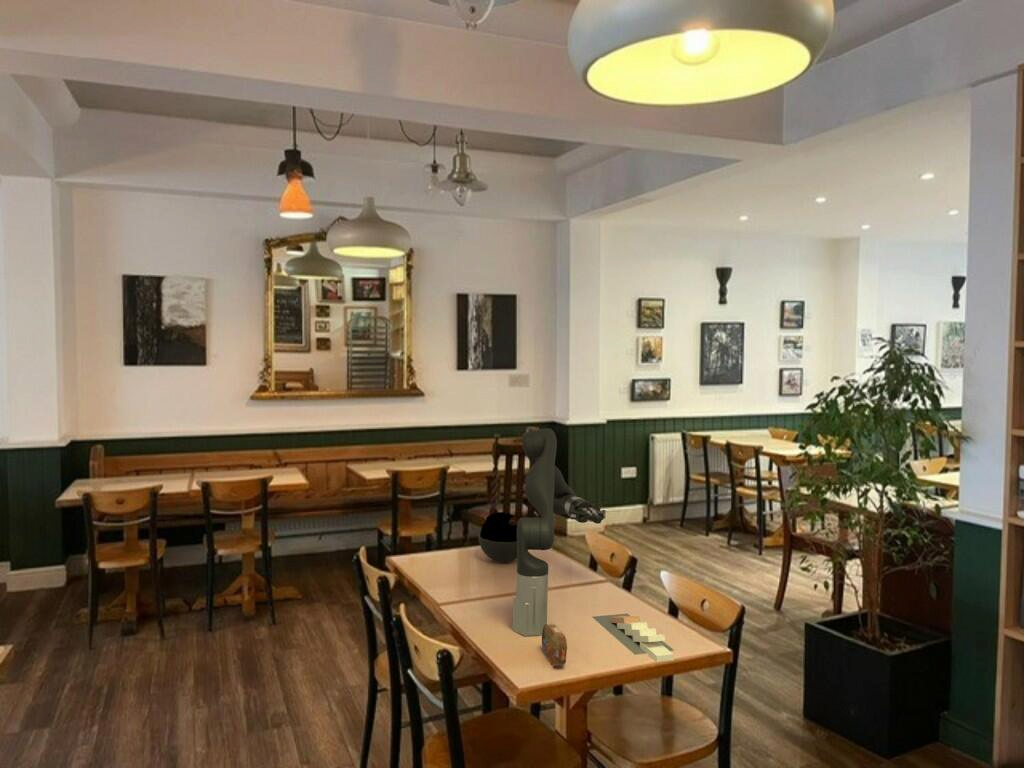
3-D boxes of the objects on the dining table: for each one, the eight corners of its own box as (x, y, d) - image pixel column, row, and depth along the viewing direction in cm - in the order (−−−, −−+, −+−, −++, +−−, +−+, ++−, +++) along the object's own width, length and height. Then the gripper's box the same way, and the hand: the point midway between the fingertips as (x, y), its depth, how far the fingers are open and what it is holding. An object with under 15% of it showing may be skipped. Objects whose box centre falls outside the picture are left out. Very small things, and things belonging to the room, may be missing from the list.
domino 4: (632, 635, 215) (647, 635, 206) (648, 634, 216) (664, 634, 207) (633, 641, 214) (648, 642, 205) (649, 640, 216) (665, 640, 207)
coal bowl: (507, 552, 309) (508, 506, 308) (540, 563, 293) (541, 515, 293) (467, 559, 296) (468, 512, 295) (499, 572, 281) (500, 521, 280)
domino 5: (639, 641, 210) (656, 656, 201) (656, 640, 212) (673, 654, 202) (639, 647, 210) (656, 661, 201) (656, 645, 212) (673, 660, 202)
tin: (540, 649, 209) (541, 619, 208) (551, 648, 210) (552, 618, 209) (556, 672, 194) (557, 639, 194) (568, 671, 195) (569, 639, 195)
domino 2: (616, 622, 225) (631, 623, 216) (632, 621, 226) (647, 622, 217) (617, 628, 224) (631, 629, 215) (632, 627, 226) (647, 628, 217)
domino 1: (610, 617, 230) (623, 617, 220) (625, 615, 231) (639, 616, 222) (610, 622, 229) (624, 623, 220) (625, 621, 231) (639, 621, 221)
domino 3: (624, 629, 220) (639, 629, 211) (640, 627, 221) (655, 628, 212) (625, 635, 219) (640, 635, 210) (640, 633, 221) (656, 634, 212)
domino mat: (591, 618, 234) (591, 616, 234) (627, 615, 238) (627, 613, 238) (634, 656, 205) (634, 654, 205) (674, 652, 209) (674, 650, 209)
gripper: (561, 499, 259) (580, 509, 242) (596, 497, 262) (617, 508, 246) (560, 520, 259) (579, 532, 242) (596, 519, 263) (617, 531, 246)
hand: (598, 520), depth 244 cm, fingers closed
